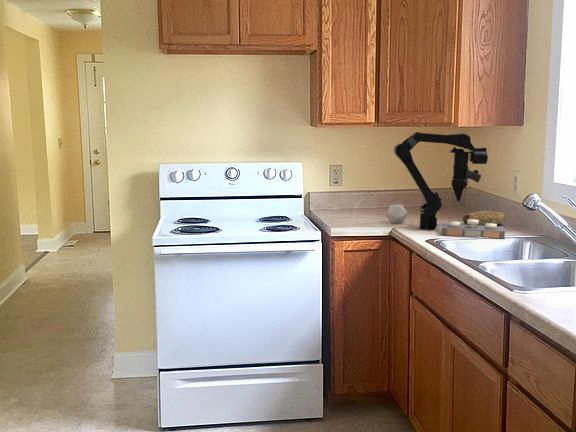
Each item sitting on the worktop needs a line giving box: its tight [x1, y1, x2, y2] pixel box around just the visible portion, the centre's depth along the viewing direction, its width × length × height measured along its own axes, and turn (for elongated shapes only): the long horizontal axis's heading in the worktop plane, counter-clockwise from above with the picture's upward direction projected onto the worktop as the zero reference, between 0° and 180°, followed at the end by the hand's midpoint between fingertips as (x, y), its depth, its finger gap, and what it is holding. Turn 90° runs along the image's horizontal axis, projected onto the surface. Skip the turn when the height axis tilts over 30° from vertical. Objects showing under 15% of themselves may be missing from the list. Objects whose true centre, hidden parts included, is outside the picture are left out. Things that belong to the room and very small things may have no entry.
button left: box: [448, 221, 461, 227], centre depth 267 cm, size 4×4×4 cm
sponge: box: [462, 210, 506, 226], centre depth 288 cm, size 13×8×20 cm
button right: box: [485, 223, 498, 229], centre depth 263 cm, size 4×4×4 cm
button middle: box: [467, 219, 479, 228], centre depth 265 cm, size 4×4×4 cm
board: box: [440, 223, 506, 240], centre depth 265 cm, size 24×11×3 cm, turn 76°
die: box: [385, 204, 408, 225], centre depth 292 cm, size 8×9×10 cm
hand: (458, 201), depth 276 cm, fingers closed
